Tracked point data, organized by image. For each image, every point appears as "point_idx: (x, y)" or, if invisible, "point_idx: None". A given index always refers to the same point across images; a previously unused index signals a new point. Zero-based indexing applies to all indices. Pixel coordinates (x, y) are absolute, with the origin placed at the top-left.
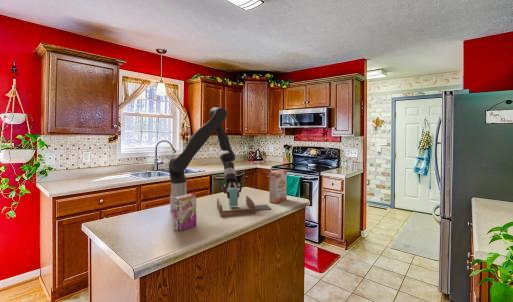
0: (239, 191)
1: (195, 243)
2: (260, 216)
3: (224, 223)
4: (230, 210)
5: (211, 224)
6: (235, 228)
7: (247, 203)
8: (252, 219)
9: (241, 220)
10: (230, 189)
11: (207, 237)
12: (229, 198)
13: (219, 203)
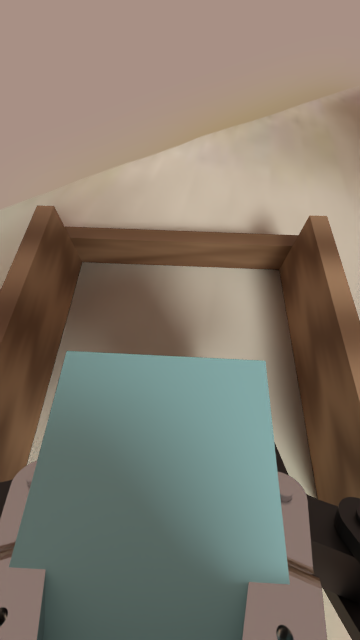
0: (8, 485)
1: (353, 90)
2: (69, 207)
3: (267, 178)
4: (233, 235)
5: (328, 182)
6: (226, 133)
7: (19, 421)
8: (127, 185)
9: (183, 187)
10: (242, 360)
11: (324, 107)
12: None
13: (340, 274)
